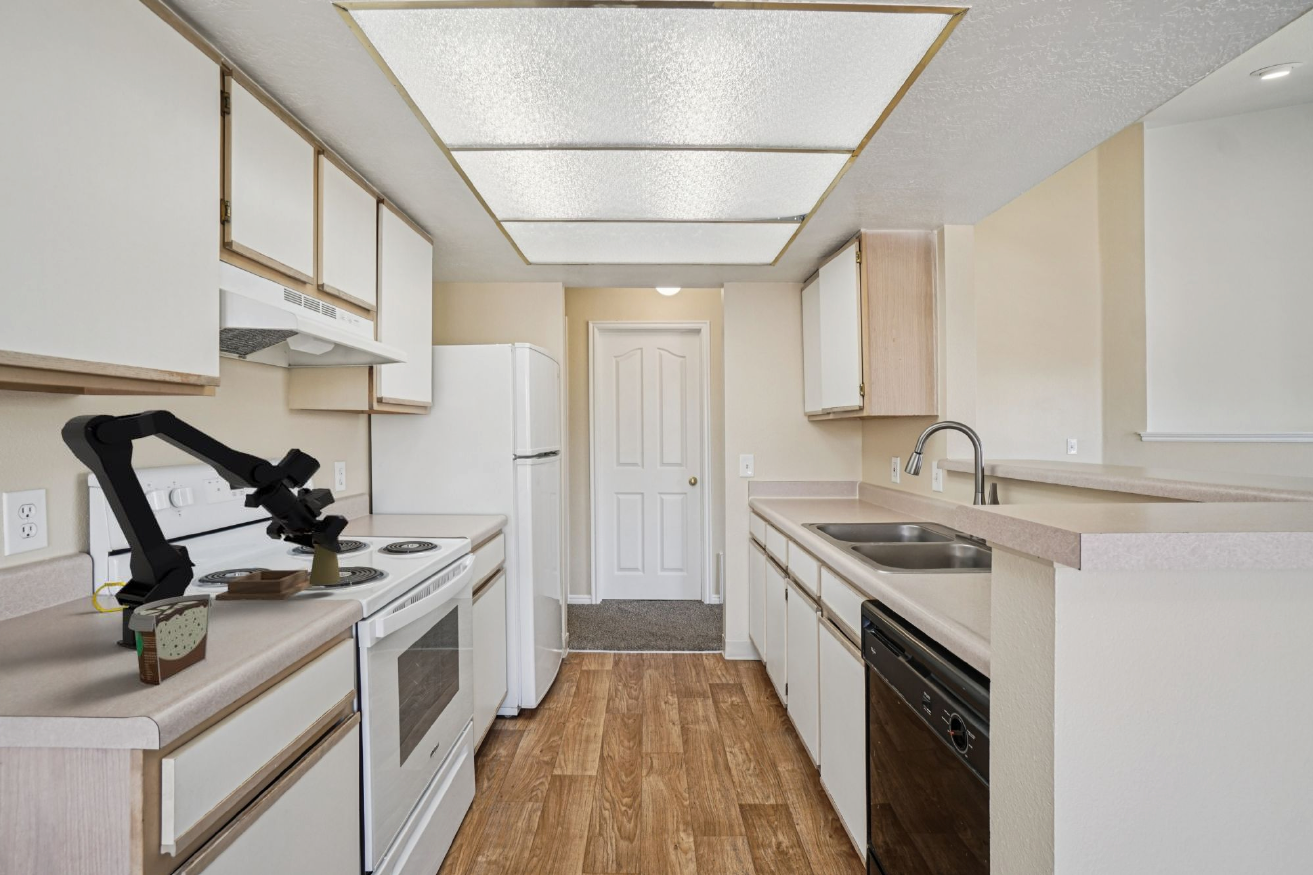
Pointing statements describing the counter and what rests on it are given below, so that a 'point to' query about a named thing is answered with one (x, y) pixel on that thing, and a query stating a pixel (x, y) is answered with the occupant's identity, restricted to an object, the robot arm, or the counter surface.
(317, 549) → the cork
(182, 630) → the food container
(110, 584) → the watch
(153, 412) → the robot arm
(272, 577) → the stand
